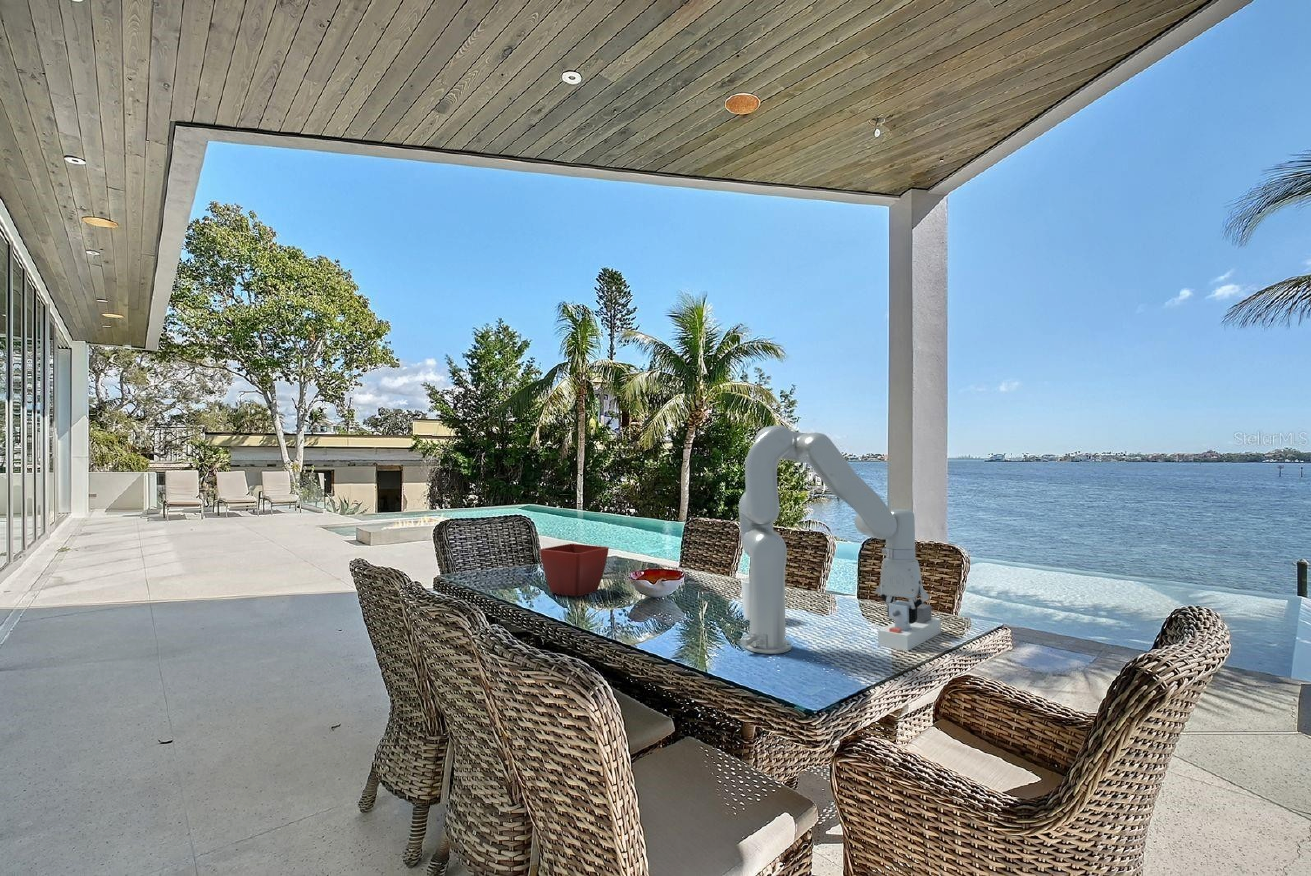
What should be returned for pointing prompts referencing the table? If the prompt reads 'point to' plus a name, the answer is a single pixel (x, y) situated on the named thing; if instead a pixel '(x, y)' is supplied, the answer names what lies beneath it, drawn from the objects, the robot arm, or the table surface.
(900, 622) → the grey plug
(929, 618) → the dark grey block
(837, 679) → the table surface
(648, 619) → the table surface
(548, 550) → the plant pot
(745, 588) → the candle holder
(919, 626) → the power strip
